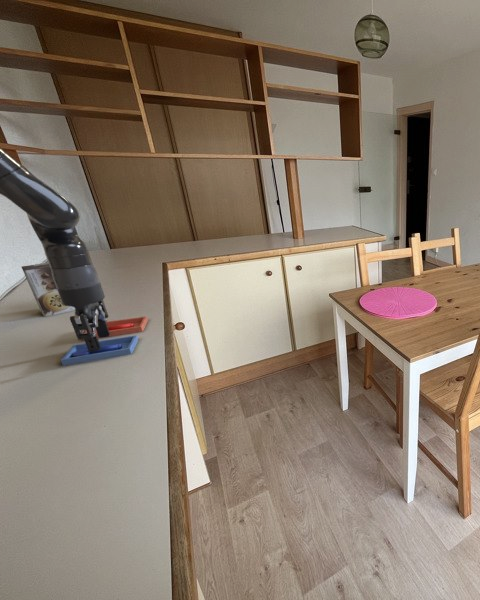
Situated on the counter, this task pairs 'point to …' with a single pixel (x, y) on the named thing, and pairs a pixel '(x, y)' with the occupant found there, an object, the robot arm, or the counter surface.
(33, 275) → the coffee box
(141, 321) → the red tray
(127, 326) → the red spoon
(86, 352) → the blue spoon
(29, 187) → the robot arm
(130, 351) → the blue tray
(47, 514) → the counter surface
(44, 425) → the counter surface
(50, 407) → the counter surface
